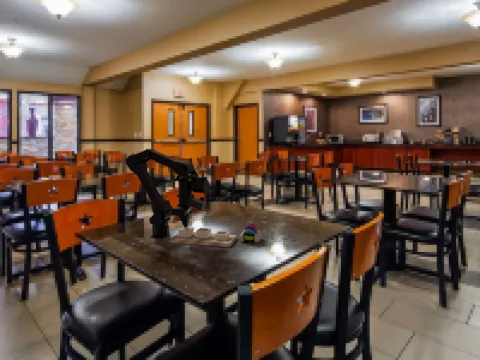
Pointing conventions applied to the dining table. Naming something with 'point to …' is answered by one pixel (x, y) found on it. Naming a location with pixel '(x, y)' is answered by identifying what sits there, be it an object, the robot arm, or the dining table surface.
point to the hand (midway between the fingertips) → (186, 227)
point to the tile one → (186, 232)
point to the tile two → (203, 233)
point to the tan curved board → (204, 240)
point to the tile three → (222, 236)
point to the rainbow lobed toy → (251, 233)
